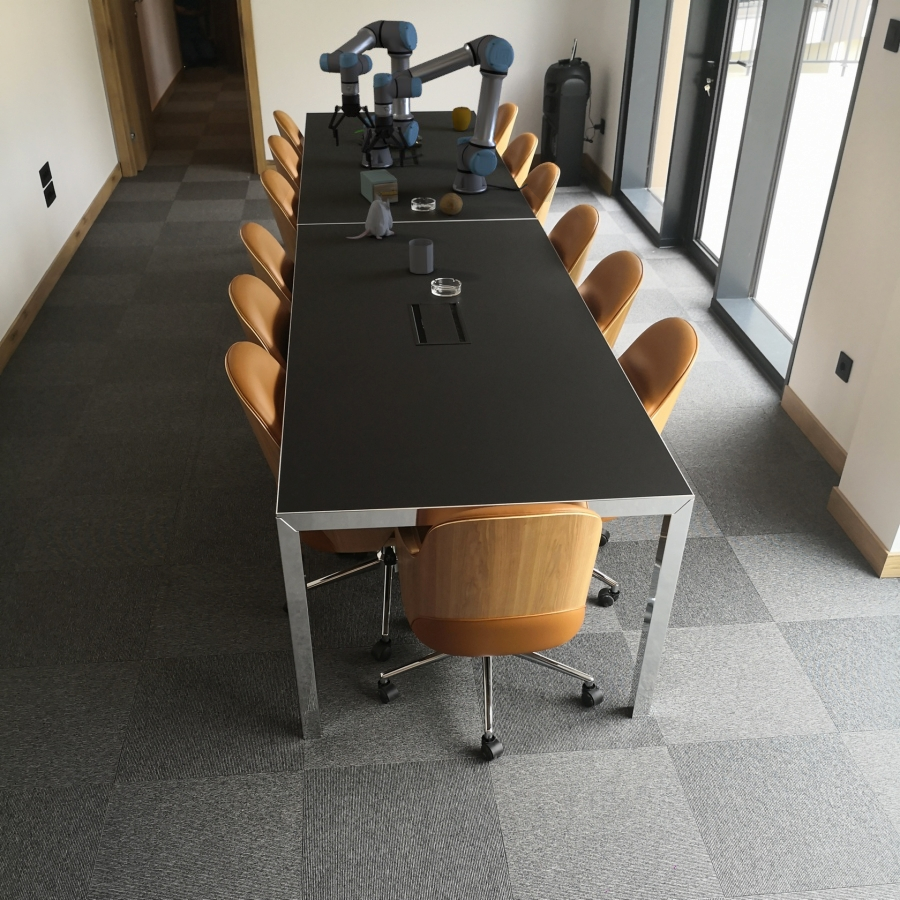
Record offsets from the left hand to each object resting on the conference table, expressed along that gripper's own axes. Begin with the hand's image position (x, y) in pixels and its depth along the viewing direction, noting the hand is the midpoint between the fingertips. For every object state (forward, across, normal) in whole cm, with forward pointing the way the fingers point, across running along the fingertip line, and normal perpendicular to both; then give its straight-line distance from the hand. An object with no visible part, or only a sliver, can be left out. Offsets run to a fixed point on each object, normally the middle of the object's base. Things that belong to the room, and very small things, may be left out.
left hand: (353, 145), depth 375 cm
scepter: (+20, 0, +96) cm, 98 cm away
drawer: (+20, +13, -9) cm, 26 cm away
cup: (+21, +36, -91) cm, 100 cm away
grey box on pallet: (+21, +11, -5) cm, 24 cm away
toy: (+21, +14, -60) cm, 65 cm away
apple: (+20, +43, +126) cm, 135 cm away
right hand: (+5, +16, -17) cm, 23 cm away
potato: (+21, +44, -26) cm, 55 cm away
